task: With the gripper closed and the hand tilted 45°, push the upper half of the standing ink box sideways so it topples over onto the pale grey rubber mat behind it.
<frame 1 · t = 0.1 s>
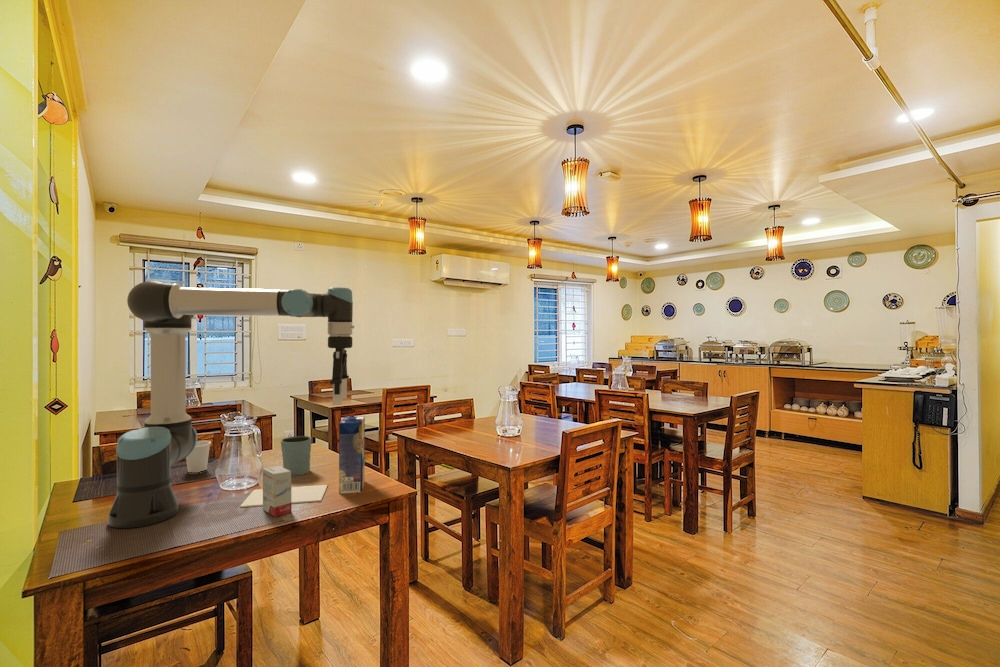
hand: (340, 401, 150), 28 cm above the table, tool pointing down, fingers open, 13 cm apart
green tapered cup: (296, 472, 167), on the table
ink box: (277, 511, 131), on the table
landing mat: (286, 496, 143), on the table
beverage box: (352, 487, 151), on the table
dixie cup: (197, 471, 168), on the table
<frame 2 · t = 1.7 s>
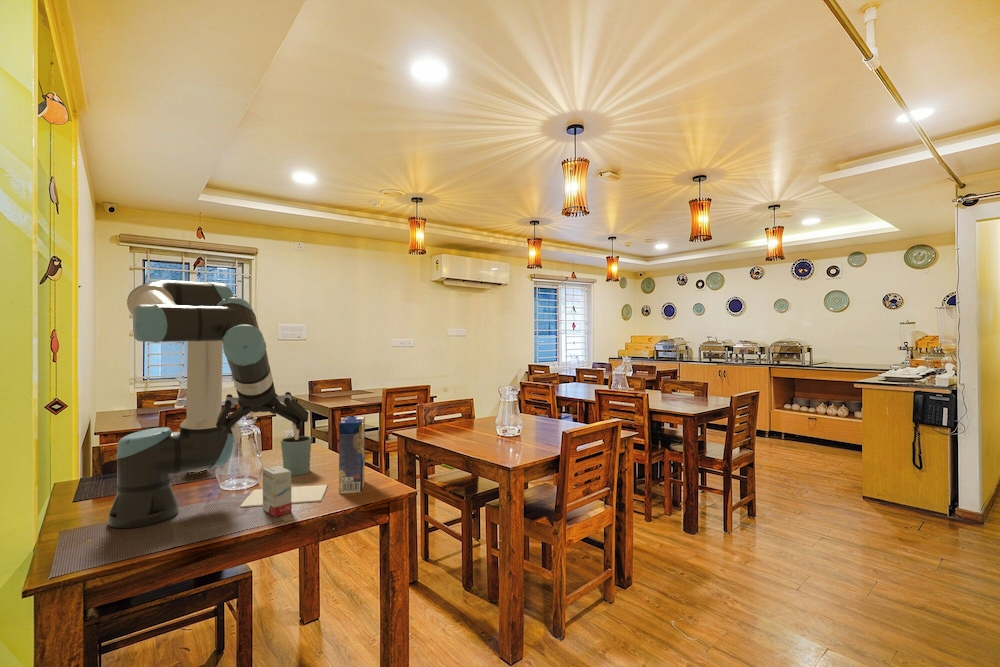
hand: (268, 437, 119), 24 cm above the table, tool tilted 45°, fingers open, 13 cm apart
nothing on the table moved.
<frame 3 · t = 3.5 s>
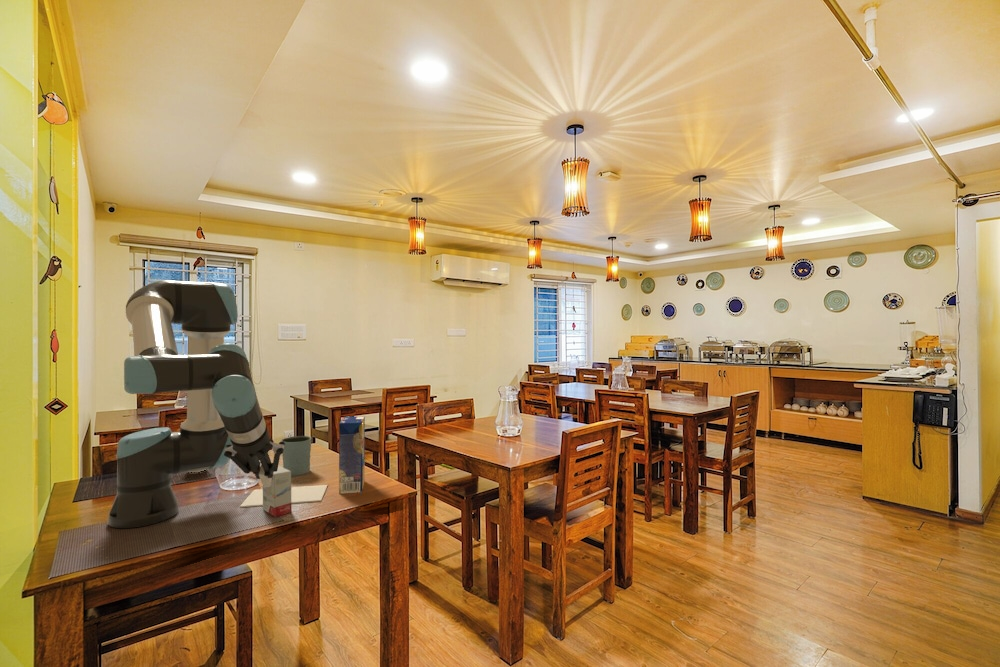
hand: (267, 482, 120), 12 cm above the table, tool tilted 45°, fingers closed
nothing on the table moved.
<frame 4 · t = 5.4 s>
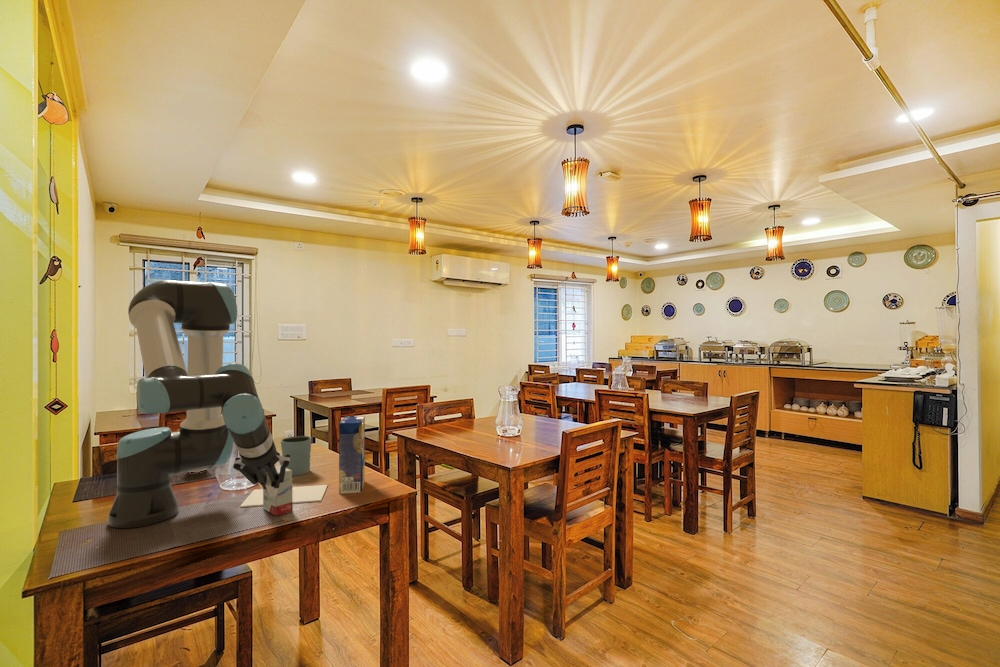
hand: (274, 492, 126), 7 cm above the table, tool tilted 45°, fingers closed
ink box: (277, 511, 132), on the table, touching gripper, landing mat
everything else where it was.
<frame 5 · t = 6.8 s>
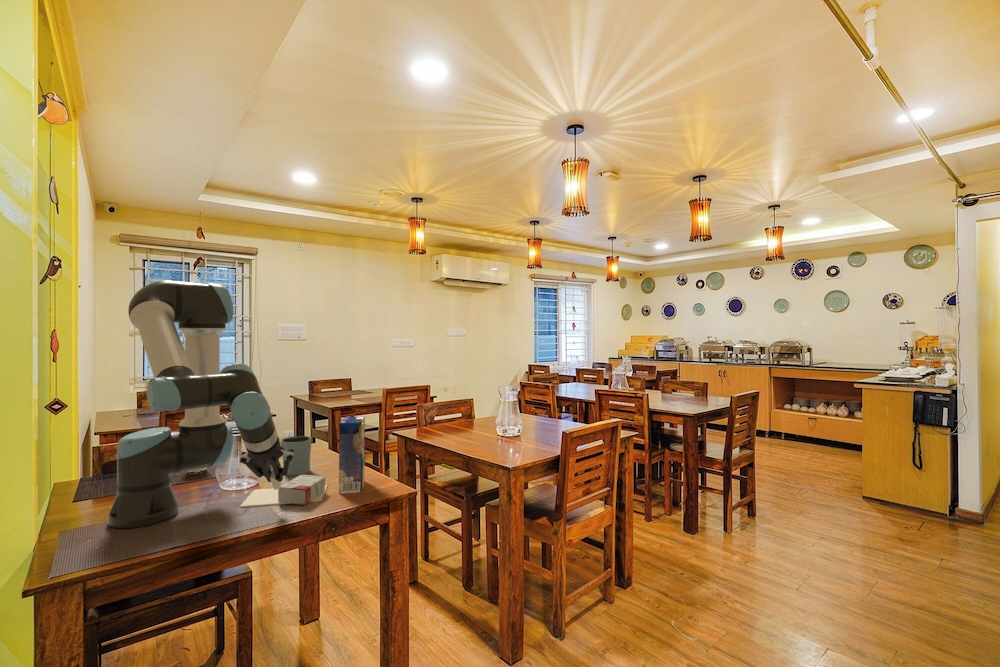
hand: (277, 484, 132), 7 cm above the table, tool tilted 45°, fingers closed
ink box: (291, 496, 135), point 3 cm above the table, touching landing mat
everything else where it was.
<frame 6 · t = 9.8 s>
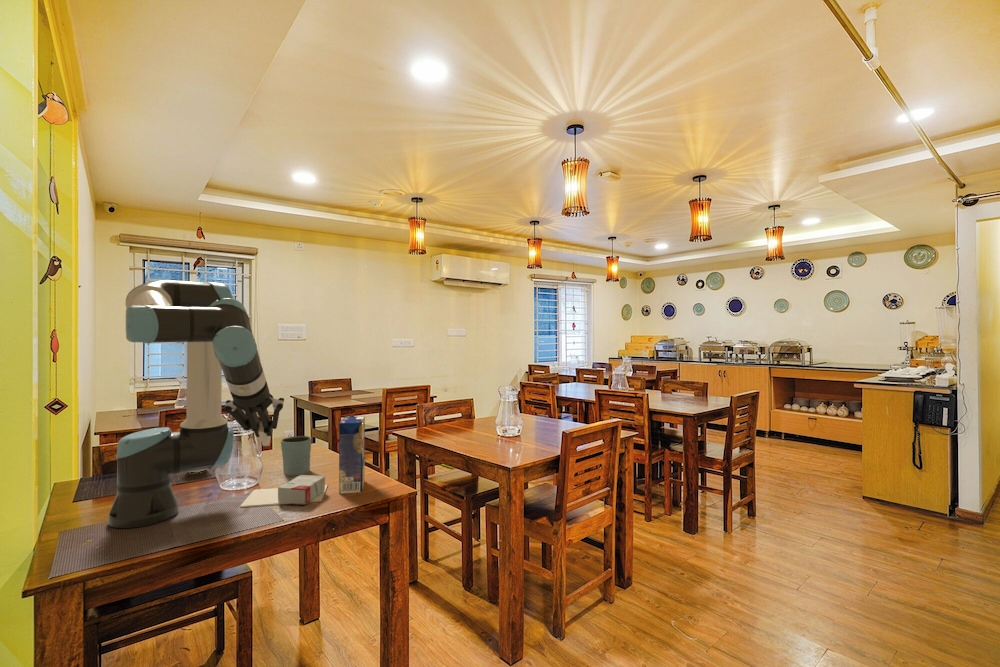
hand: (267, 441, 121), 22 cm above the table, tool tilted 45°, fingers closed
nothing on the table moved.
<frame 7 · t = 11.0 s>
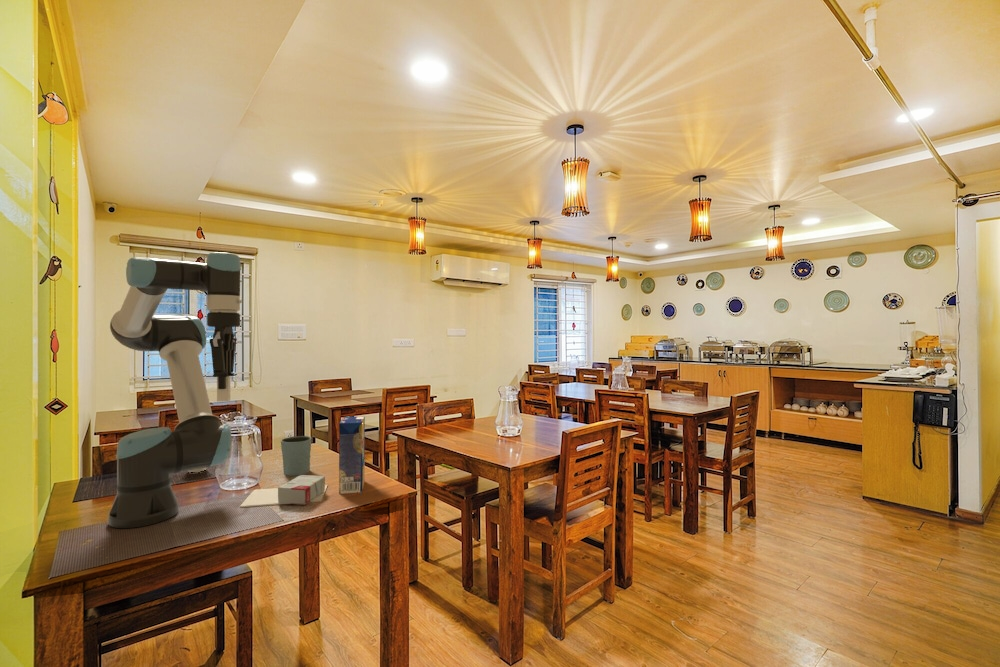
hand: (223, 400, 123), 32 cm above the table, tool pointing down, fingers closed
nothing on the table moved.
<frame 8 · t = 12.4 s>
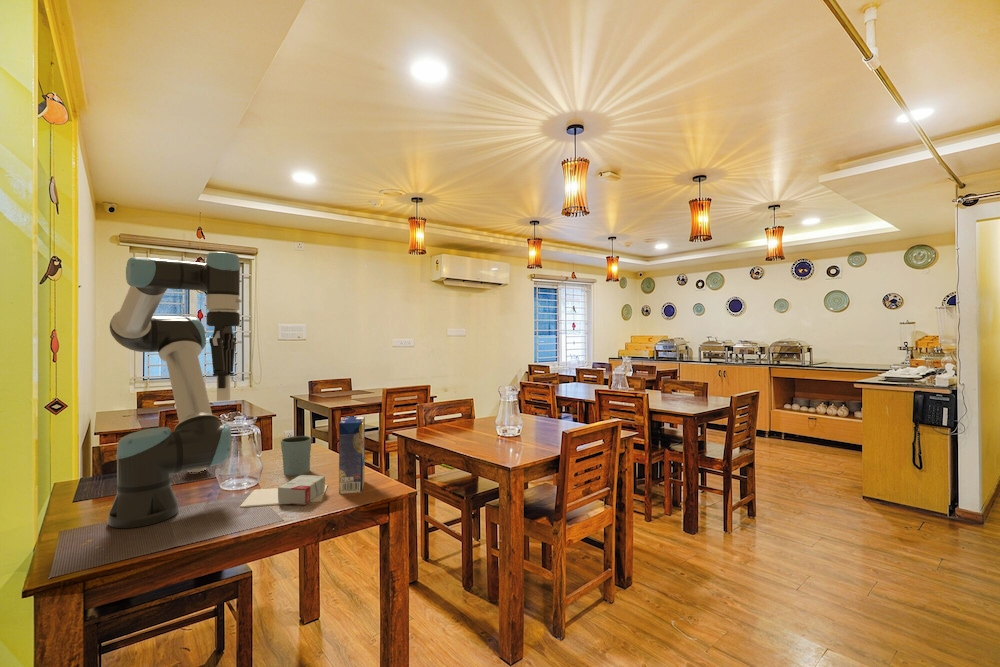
hand: (223, 400, 123), 32 cm above the table, tool pointing down, fingers closed
nothing on the table moved.
at the end: ink box tilted 90°; ink box touching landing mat; ink box inside the target area (4.5 cm from its centre), point 2.8 cm above the table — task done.
